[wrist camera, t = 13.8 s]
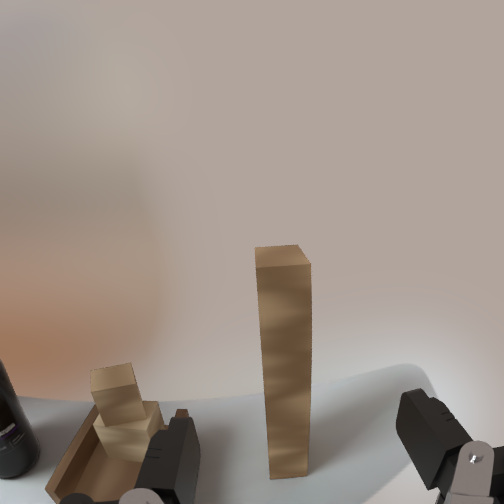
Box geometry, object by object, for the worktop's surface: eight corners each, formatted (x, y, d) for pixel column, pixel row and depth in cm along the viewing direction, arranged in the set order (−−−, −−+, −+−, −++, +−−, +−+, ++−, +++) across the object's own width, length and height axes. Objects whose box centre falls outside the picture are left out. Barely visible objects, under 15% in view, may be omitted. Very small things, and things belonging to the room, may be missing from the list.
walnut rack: (64, 513, 13) (44, 489, 12) (106, 430, 23) (95, 404, 22) (175, 536, 13) (161, 514, 12) (194, 436, 23) (187, 409, 22)
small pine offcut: (105, 427, 17) (91, 392, 17) (102, 404, 20) (90, 370, 19) (147, 418, 19) (135, 383, 18) (140, 396, 21) (130, 362, 20)
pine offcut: (109, 458, 18) (92, 424, 18) (121, 431, 21) (108, 398, 21) (159, 463, 18) (146, 430, 17) (167, 435, 21) (157, 401, 21)
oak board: (270, 479, 18) (255, 267, 15) (267, 437, 22) (254, 247, 19) (307, 476, 18) (310, 263, 15) (299, 434, 22) (297, 244, 19)
